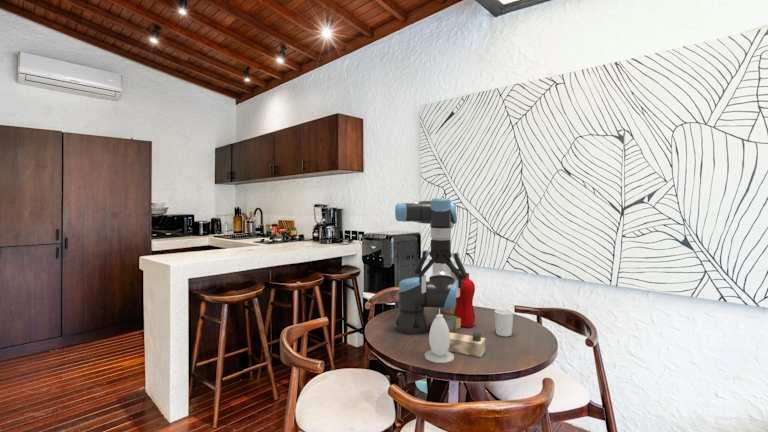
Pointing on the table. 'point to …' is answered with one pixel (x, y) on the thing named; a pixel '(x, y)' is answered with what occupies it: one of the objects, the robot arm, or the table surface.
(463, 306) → the red lumpy piece
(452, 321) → the lever
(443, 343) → the sauce bottle
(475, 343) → the beige long block
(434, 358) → the white round disc
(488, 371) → the table surface
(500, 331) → the white cup
